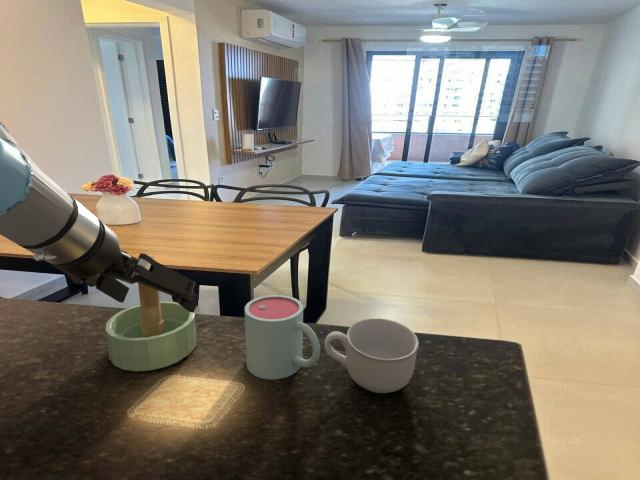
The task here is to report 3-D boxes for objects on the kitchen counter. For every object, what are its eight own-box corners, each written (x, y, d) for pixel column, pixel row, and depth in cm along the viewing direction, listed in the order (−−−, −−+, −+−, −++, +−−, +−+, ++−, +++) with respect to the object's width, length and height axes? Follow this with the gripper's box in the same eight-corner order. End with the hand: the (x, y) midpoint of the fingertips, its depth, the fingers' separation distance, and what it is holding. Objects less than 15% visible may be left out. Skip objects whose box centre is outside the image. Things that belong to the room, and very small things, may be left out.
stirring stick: (140, 350, 64) (129, 261, 60) (151, 341, 67) (141, 255, 63) (159, 353, 64) (149, 263, 59) (169, 343, 66) (161, 257, 62)
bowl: (92, 358, 63) (86, 325, 61) (159, 323, 74) (156, 295, 73) (148, 384, 57) (144, 349, 55) (212, 342, 68) (211, 312, 67)
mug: (234, 364, 62) (232, 308, 59) (273, 340, 69) (273, 290, 67) (298, 400, 54) (299, 338, 52) (335, 369, 62) (338, 314, 59)
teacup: (417, 368, 63) (421, 325, 60) (409, 413, 53) (415, 362, 50) (335, 351, 67) (337, 310, 65) (315, 389, 57) (316, 342, 55)
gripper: (-25, 256, 48) (87, 311, 66) (150, 278, 43) (218, 331, 61) (8, 207, 51) (106, 272, 70) (174, 221, 46) (232, 287, 65)
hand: (158, 300), depth 66 cm, fingers open, 13 cm apart
